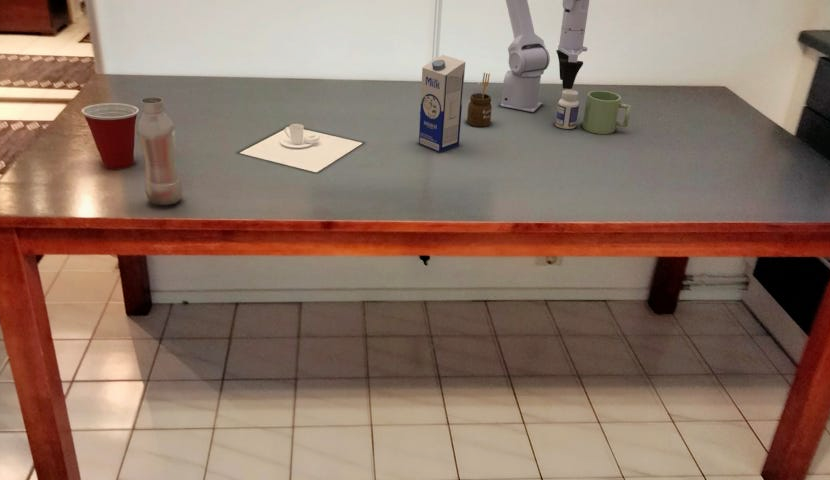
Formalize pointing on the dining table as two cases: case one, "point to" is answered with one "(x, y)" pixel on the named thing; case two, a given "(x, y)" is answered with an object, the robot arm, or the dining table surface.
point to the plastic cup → (113, 132)
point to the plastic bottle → (159, 153)
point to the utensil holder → (480, 107)
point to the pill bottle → (567, 110)
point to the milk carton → (441, 103)
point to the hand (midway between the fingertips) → (565, 84)
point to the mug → (603, 112)
